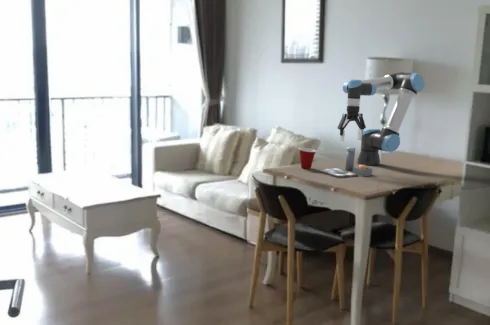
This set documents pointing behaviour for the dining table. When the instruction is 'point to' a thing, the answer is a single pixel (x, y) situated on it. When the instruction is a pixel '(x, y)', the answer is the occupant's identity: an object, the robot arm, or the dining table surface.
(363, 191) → the dining table surface
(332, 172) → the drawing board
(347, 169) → the grey tall block
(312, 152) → the plastic cup
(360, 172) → the button housing
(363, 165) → the button
